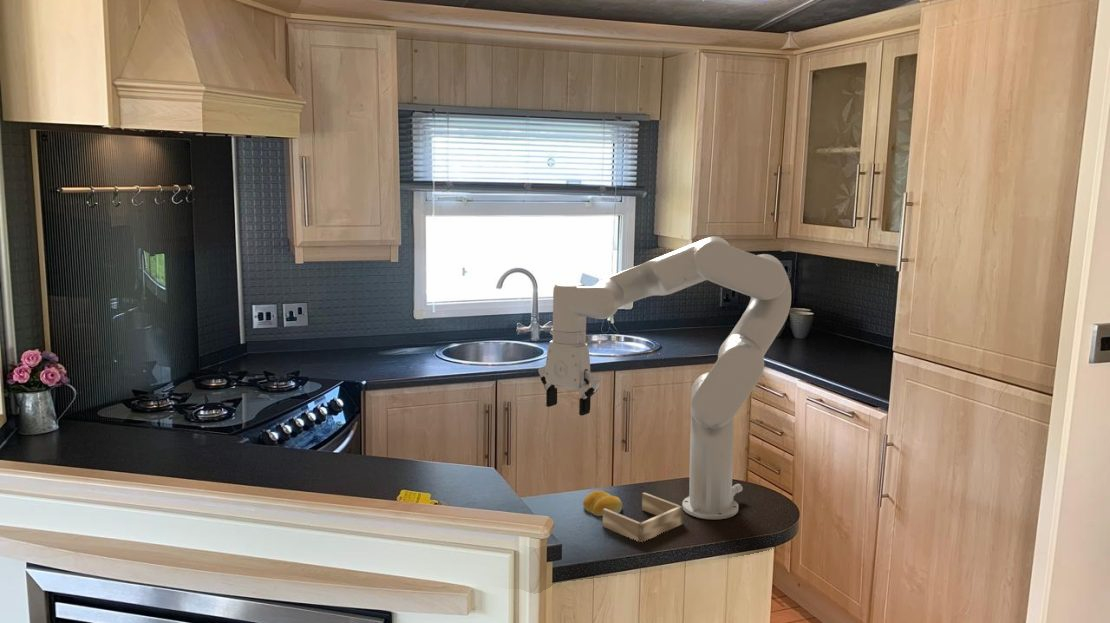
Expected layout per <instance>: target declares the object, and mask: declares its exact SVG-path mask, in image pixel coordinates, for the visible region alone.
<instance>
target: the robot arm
mask: <svg viewBox="0 0 1110 623" xmlns="http://www.w3.org/2000/svg"><path fill="white" fill-rule="evenodd" d="M704 281H709V282H711V283H714V284H716V285H718V286H721V287H724V288H726V289H730V290H732V291H735V292H737V293H741V295H742V294H743V295H746V296H747V297H748V296H749V297H750V300H749V302H748V304H747V306H746V309H745V311H744V312H743V313H742V315H741V317H740V318H739V320H738V321H737V323H736V324H735V326H734V328H733V329H732V331H730V333H729V335H727V337H726V338H725V340H723V342H722V344H721V345H720V347H719V349H718V354H717V360H716V362H714V364H713V366H712V368H711V369H710V371H707V372H705V373H702V374H700V375H699V376H698V377H697V378H696V379H695V380H694V382H693V384H692V385H691V389H690V396H689V397H690V398H689V399H690V406H689V407H690V431H689V432H690V435H689V436H690V438H689V440H690V441H689V485H688V486H689V487H688V488H689V490H688V491H689V492H688V494H689V495H688V496H687V497H685V498H684V499H683V500H682V502H681V504H682V505H681V506H683V512H685V513H686V514H688V515H690V516H692V517H696V518H698V519H703V520H712V521H713V520H723V519H725V520H726V519H729V518H732V517H734V516H735V515H737V513H739V503H738V502H737V501H736V500H735V499H734V497H735V496H736V494H738V493H740V492H743V486H742V484H740V483H736V484H734V485H733V467H734V466H733V464H734V463H733V461H734V460H733V459H734V438H735V437H734V432H735V430H734V429H735V427H734V426H735V422H734V421H735V420H734V419H735V416H736V415H737V413H738V411H740V409H741V407H742V406H743V405H744V403H745V402H746V401H747V399H748V397H749V396H750V395H751V393H752V391H753V390H754V389H755V387H756V386H757V385H758V383H759V381H760V379H761V377H762V375H763V372H764V368H765V355H766V354H767V351H768V350H769V349H770V347H771V345H772V344H773V342H774V341H775V339H776V337H777V336H778V334H779V333H780V331H782V328H783V326H784V325H785V322H786V321H787V319H788V316H789V313H790V309H791V305H792V286H791V282H790V279H789V276H788V273H787V271H786V269H785V267H784V265H783V263H782V262H781V261H780V260H779V259H778V258H777V257H775V256H774V255H772V254H769V253H762V254H757V255H756V254H754V253H751V252H749V251H745V250H743V249H740V248H738V247H735V246H733V245H730V243H729V242H728V241H727V240H726V239H724V238H722V237H721V236H715V235H714V236H708V237H706V238H703V239H700V240H698V241H696V242H693V243H690V244H687V245H686V246H683V247H681V248H678V249H675V250H673V251H671V252H667V253H665V254H663V255H661V256H658V257H655V258H653V259H650V260H648V261H646V262H644V263H641V264H639V265H636V266H634V267H631V268H628V269H626V270H622V271H620V272H618V273H616V274H613V275H611V276H608V277H605V278H603V279H601V280H599V281H597V282H596V283H595V284H593V285H592V286H586V285H585V284H584V283H581V282H577V281H561V282H560V281H559V282H558V283H556V284H554V287H553V291H552V292H553V293H552V328H551V329H550V330H549V334H550V335H552V340H550V341H549V344H548V348H547V353H546V360H545V365H544V366H541V367H539V368H538V370H537V371H538V374H539V377H540V381H541V383H542V384H543V388H544V390H545V392H546V396H545V397H546V398H545V399H546V404H545V406H546V407H548V408H550V407H553V406H556V405H557V404H558V387H559V388H564V389H569V390H574V391H575V390H577V391H578V393H579V395H580V398H579V405H578V414H579V416H581V417H582V416H585V415H588V414H590V413H591V400H592V399H591V398H592V397H593V396H594V394H595V393H596V392H597V391H598V389H599V387H600V384H601V380H600V379H599V378H598V377H596V376H595V375H594V374H593V373H592V372H591V358H590V351H589V346H588V343H586V342H587V340H586V338H587V318H593V319H598V320H606V319H610V318H612V316H614V315H615V314H616V313H617V312H618V309H619V308H621V307H623V306H624V307H625V306H626V305H628V304H630V303H635V302H637V301H639V300H642V299H645V298H648V297H653V296H667V295H671V294H674V293H677V292H680V291H681V290H684V289H686V288H689V287H692V286H694V285H697V284H699V283H703V282H704ZM590 383H591V385H590ZM589 385H590V386H589Z"/></svg>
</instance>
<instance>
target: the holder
mask: <svg viewBox="0 0 1110 623" xmlns="http://www.w3.org/2000/svg"><path fill="white" fill-rule="evenodd" d="M641 495H642V496H641V510H642V511H644V512H646V513H649V514H651V515H654V516H653V517H650V518H648V519H647V520H643V521H641V522H640V521H637V520H635V519H633V518H630V517H629V516H626V515H623V514H621V513H616V512H613V511H611V510H608V509H606V508H605V509H603V517H602V527H603V528H606V529H608V530H609V531H611V532H614V533H617V534H619V535H621V536H624V537H626V538H628V537H629V539H630V540H633V539H634V540H633V541H635V540H636V542H638V541H639V542H638V543H640V542H642V543H644V542H646V540H647V541H648V539H649V540H650V539H653V538H655V537H657V535H658V536H660V535H661V533H662V534H663V532H664V533H666V532H668V531H670V530H672V529H675V528H677V527H680V526H682V525H683V524H684V510H683V506H682V505H679V504H677V503H675V502H672V501H669V500H666V499H663V498H660V497H658V496H655V495H653V494H650V493H647V492H642V493H641ZM665 531H666V532H665ZM659 534H660V535H659ZM643 541H644V542H643Z"/></svg>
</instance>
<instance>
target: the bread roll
mask: <svg viewBox="0 0 1110 623" xmlns="http://www.w3.org/2000/svg"><path fill="white" fill-rule="evenodd" d="M582 503H583V504H582V505H583V508H584V509H585V511H586V512H588V513H590V514H592V515H594V516H596V517H602V516H603V509H605V508H606V509H608V510H611V511H613V512H616V513H618V514H621V512H622V509H623V502H622V501H621V499H620V498H619V497H618V496H616V495H611V494H610V493H608V492H606V491H604V490H594V491H592V492H590V493H589V494H588V495H586V496H585V498H584V499H583V502H582Z"/></svg>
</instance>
